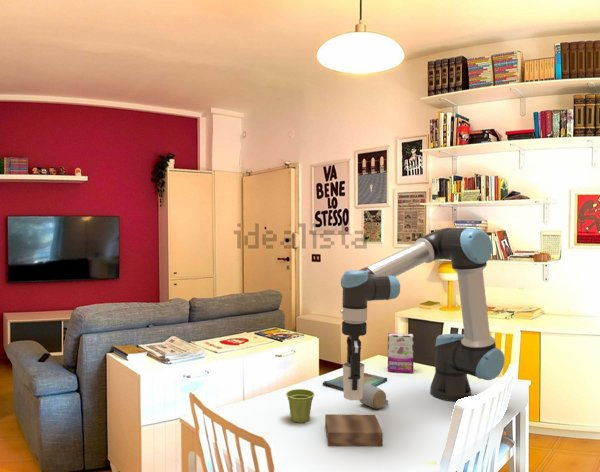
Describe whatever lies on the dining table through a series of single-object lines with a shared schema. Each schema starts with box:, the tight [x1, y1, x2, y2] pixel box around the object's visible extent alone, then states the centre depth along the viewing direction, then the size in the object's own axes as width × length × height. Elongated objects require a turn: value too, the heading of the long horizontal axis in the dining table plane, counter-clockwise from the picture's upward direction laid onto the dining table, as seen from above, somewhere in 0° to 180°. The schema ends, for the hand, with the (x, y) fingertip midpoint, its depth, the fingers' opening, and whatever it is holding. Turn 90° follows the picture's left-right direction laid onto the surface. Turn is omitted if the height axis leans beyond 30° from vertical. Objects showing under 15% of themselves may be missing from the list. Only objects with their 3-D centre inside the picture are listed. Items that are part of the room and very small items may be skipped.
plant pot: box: [285, 388, 315, 423], centre depth 171 cm, size 9×9×9 cm
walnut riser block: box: [324, 413, 384, 447], centre depth 159 cm, size 16×14×4 cm
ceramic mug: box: [358, 383, 389, 410], centre depth 185 cm, size 10×8×7 cm
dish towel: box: [322, 372, 388, 393], centre depth 210 cm, size 17×23×2 cm
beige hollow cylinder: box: [342, 361, 365, 401], centre depth 158 cm, size 7×7×10 cm
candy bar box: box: [387, 332, 415, 374], centre depth 227 cm, size 11×5×16 cm, turn 80°
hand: (352, 396), depth 158 cm, fingers closed on beige hollow cylinder, 6 cm apart
